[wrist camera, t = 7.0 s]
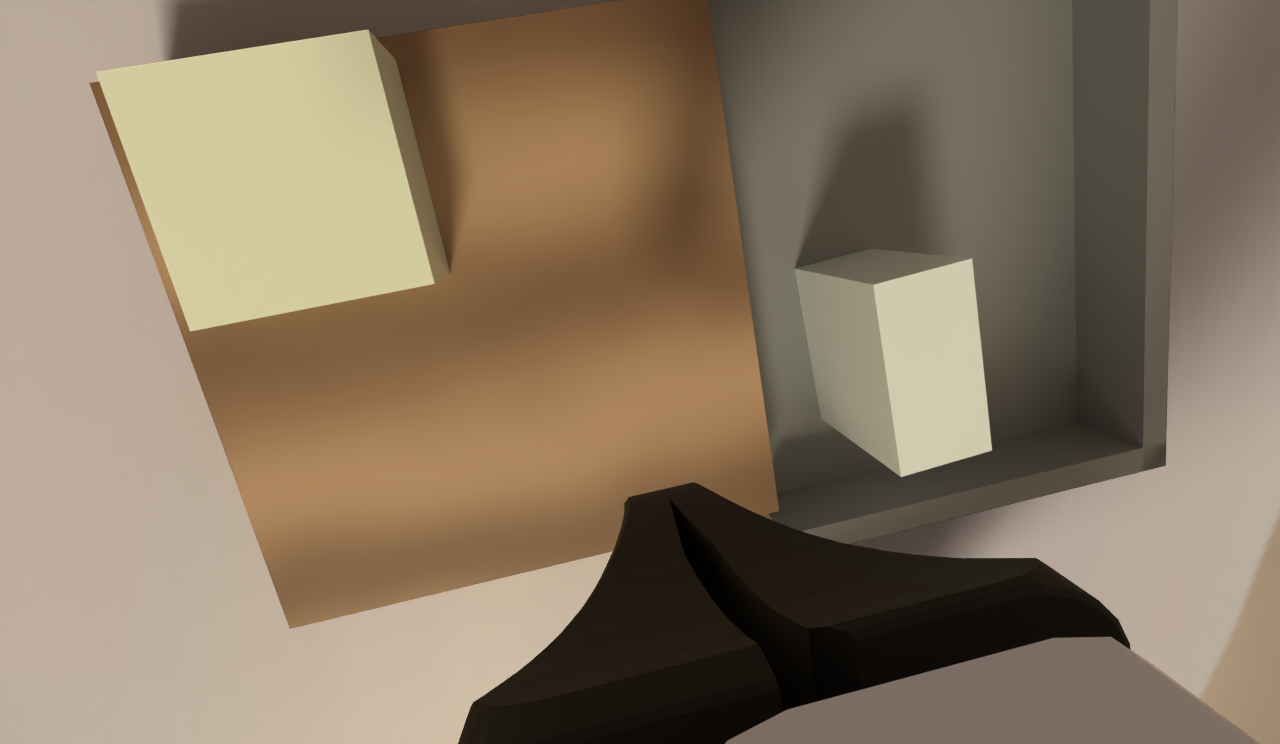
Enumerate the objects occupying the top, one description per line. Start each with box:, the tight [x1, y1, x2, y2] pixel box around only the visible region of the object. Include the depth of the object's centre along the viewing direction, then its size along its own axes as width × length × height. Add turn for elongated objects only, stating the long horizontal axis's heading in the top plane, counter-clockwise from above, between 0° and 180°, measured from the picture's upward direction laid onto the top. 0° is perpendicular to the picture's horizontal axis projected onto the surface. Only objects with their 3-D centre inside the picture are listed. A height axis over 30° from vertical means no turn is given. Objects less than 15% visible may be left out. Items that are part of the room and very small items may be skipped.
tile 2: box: [96, 30, 450, 331], centre depth 14 cm, size 5×5×2 cm
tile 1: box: [795, 249, 992, 477], centre depth 18 cm, size 5×5×2 cm
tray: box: [708, 0, 1177, 544], centre depth 19 cm, size 17×12×3 cm
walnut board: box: [90, 0, 779, 629], centre depth 18 cm, size 14×14×3 cm
